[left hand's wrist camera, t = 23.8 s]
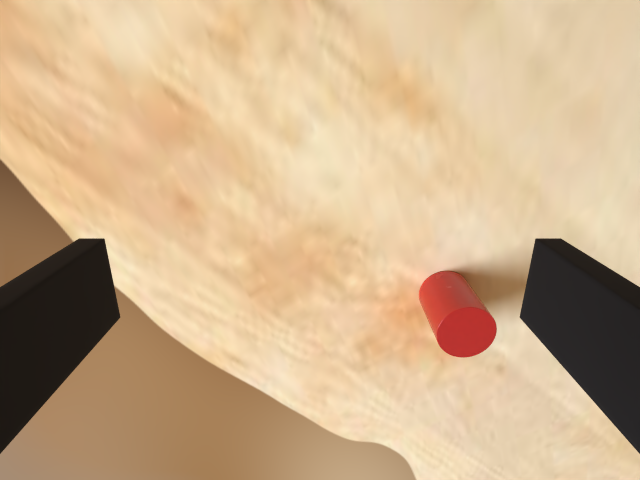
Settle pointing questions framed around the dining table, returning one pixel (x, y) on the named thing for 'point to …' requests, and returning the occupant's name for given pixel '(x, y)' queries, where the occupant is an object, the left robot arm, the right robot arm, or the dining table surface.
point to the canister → (456, 314)
